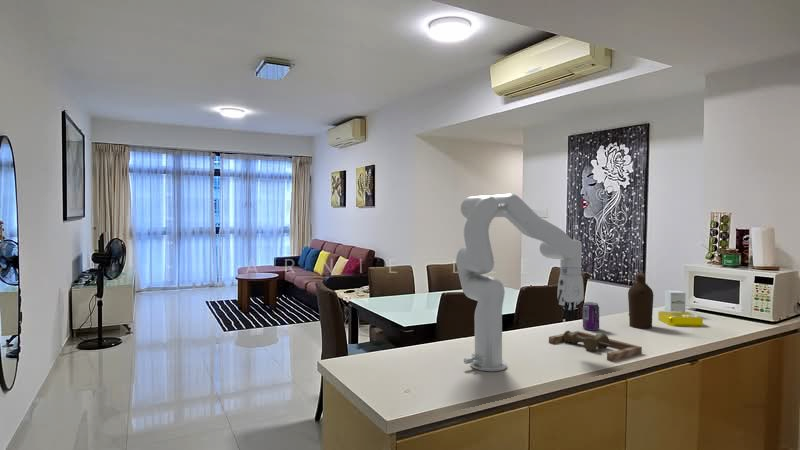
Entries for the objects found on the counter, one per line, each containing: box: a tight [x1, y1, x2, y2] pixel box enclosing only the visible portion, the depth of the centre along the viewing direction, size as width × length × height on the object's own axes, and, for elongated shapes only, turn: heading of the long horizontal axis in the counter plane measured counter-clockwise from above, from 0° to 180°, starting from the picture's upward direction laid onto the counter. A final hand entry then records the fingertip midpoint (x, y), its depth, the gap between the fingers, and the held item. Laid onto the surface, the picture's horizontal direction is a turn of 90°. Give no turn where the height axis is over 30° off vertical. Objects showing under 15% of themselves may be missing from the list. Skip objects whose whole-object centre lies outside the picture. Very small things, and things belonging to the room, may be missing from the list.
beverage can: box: [582, 301, 600, 331], centre depth 211 cm, size 7×7×12 cm
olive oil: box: [627, 272, 654, 330], centre depth 215 cm, size 11×11×25 cm
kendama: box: [563, 330, 611, 353], centre depth 183 cm, size 6×10×20 cm
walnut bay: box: [548, 330, 643, 362], centre depth 181 cm, size 18×29×2 cm, turn 30°
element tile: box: [657, 311, 704, 328], centre depth 222 cm, size 15×15×5 cm
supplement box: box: [664, 289, 687, 312], centre depth 239 cm, size 7×7×13 cm
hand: (569, 319), depth 174 cm, fingers closed
